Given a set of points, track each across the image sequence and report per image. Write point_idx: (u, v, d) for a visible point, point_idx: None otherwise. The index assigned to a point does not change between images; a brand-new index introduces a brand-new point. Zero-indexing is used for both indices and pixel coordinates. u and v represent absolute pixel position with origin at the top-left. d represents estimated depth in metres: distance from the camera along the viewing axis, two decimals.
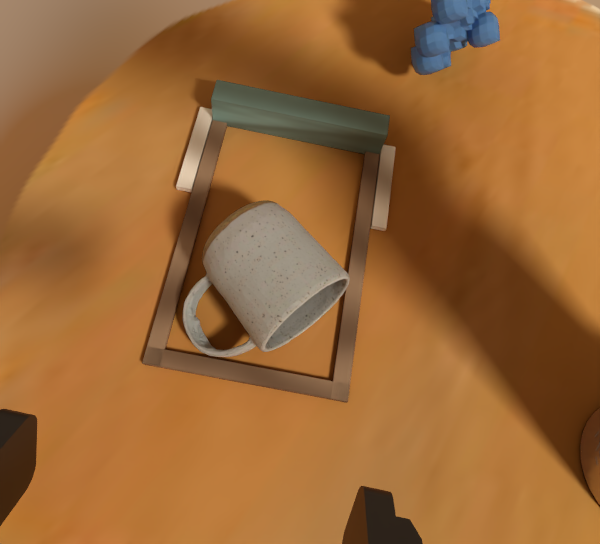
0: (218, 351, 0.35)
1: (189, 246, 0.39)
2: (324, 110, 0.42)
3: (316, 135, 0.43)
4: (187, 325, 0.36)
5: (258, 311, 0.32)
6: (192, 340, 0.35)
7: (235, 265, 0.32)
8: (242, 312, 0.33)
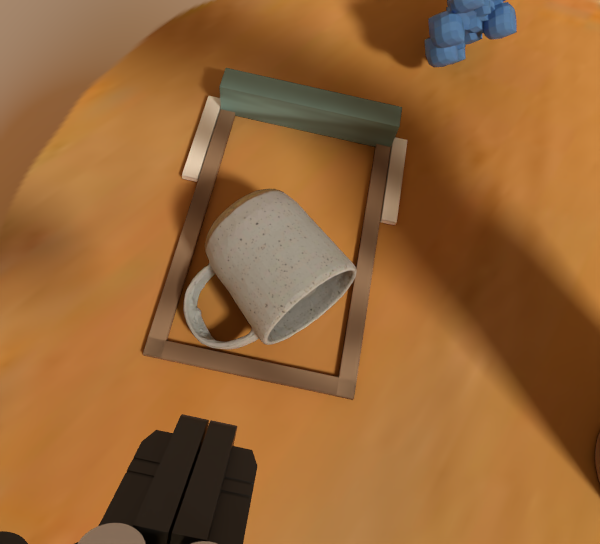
0: (219, 343, 0.34)
1: (194, 236, 0.38)
2: (334, 101, 0.41)
3: (326, 126, 0.42)
4: (188, 315, 0.35)
5: (261, 300, 0.31)
6: (192, 331, 0.34)
7: (239, 253, 0.31)
8: (244, 302, 0.32)
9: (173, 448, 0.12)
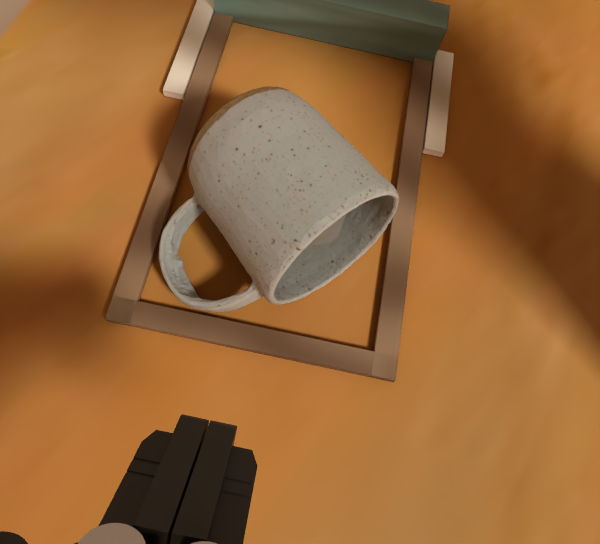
0: (206, 301, 0.24)
1: (177, 166, 0.28)
2: None
3: (351, 33, 0.33)
4: (164, 265, 0.25)
5: (265, 235, 0.21)
6: (171, 286, 0.25)
7: (234, 169, 0.22)
8: (242, 240, 0.22)
9: (173, 448, 0.12)
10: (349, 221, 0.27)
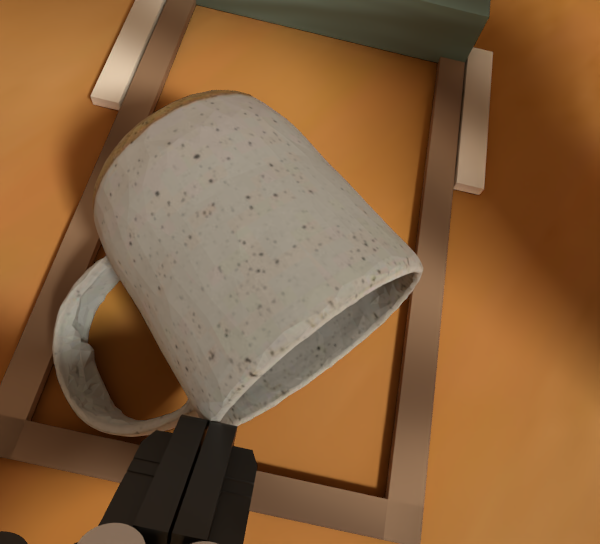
0: (119, 424, 0.15)
1: None
2: None
3: (355, 22, 0.24)
4: (60, 361, 0.16)
5: (199, 343, 0.12)
6: (67, 395, 0.16)
7: (152, 227, 0.13)
8: (166, 342, 0.14)
9: (173, 448, 0.12)
10: None
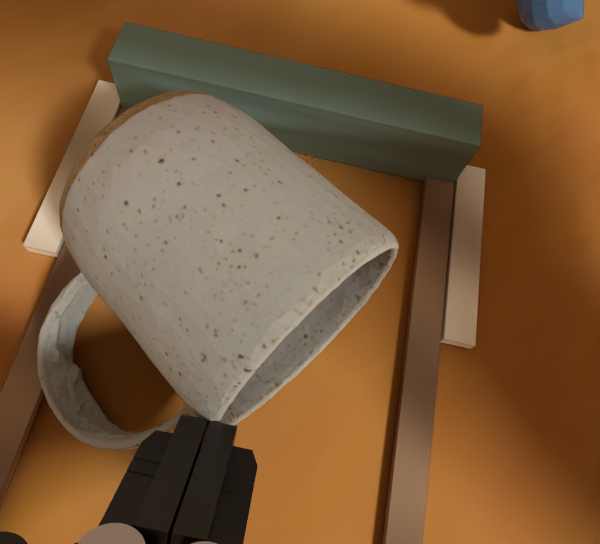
0: (117, 439, 0.15)
1: (33, 389, 0.17)
2: (347, 91, 0.20)
3: (329, 143, 0.21)
4: (48, 385, 0.16)
5: (189, 347, 0.12)
6: (60, 418, 0.16)
7: (126, 236, 0.13)
8: (155, 351, 0.13)
9: (173, 448, 0.12)
10: None
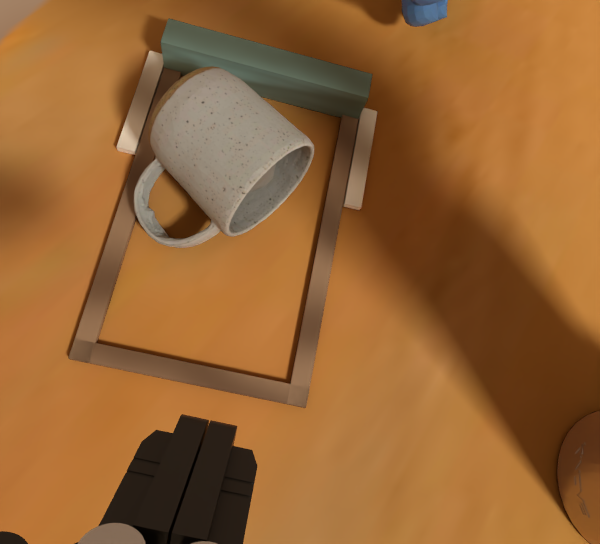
0: (178, 240, 0.32)
1: (130, 220, 0.33)
2: (295, 64, 0.35)
3: (286, 93, 0.37)
4: (140, 216, 0.32)
5: (217, 185, 0.29)
6: (148, 231, 0.32)
7: (187, 137, 0.29)
8: (200, 191, 0.30)
9: (173, 448, 0.12)
10: (279, 166, 0.35)
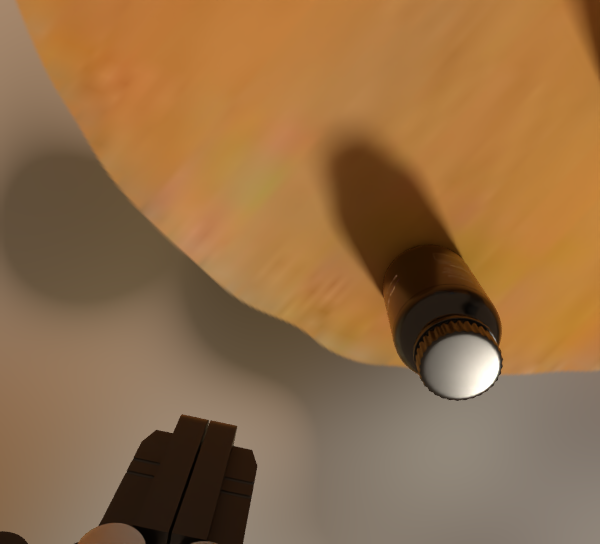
0: None
1: None
2: None
3: None
4: None
5: None
6: None
7: None
8: None
9: (173, 448, 0.12)
10: None
